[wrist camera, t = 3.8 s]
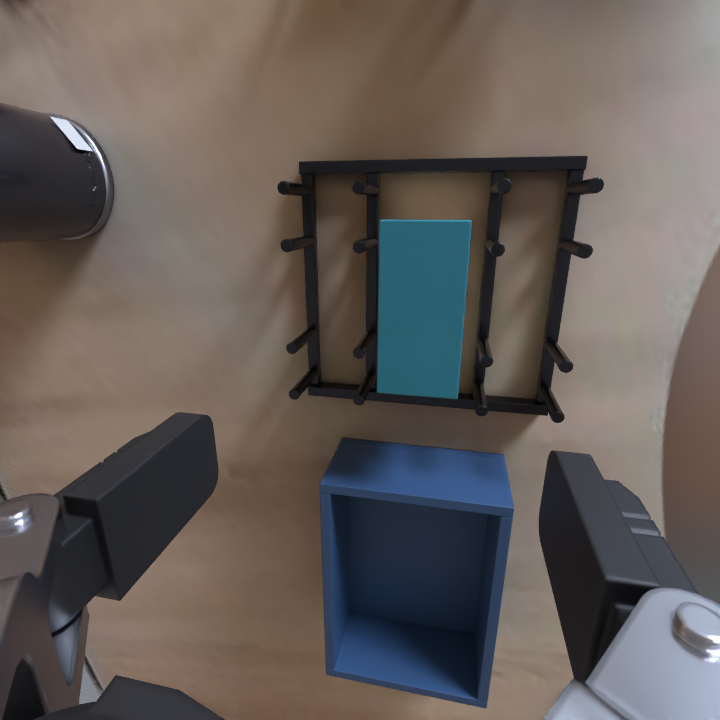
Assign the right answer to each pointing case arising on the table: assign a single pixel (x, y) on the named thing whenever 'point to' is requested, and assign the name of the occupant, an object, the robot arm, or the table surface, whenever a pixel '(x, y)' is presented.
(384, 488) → the bin
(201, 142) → the table surface
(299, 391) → the dish rack
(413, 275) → the container
